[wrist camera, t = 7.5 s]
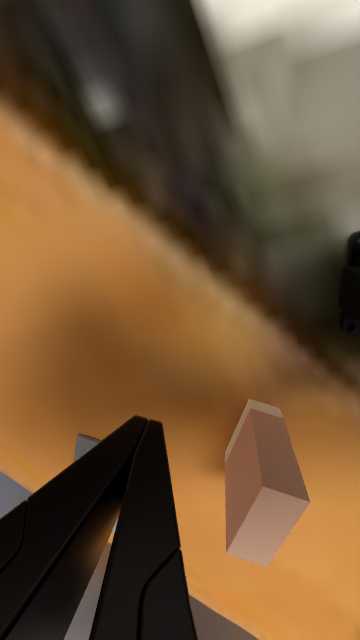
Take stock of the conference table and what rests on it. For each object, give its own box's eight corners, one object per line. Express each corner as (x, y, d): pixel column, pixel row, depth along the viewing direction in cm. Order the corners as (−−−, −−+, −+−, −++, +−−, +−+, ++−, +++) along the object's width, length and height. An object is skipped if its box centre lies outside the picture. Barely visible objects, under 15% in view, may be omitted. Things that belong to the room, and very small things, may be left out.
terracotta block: (279, 408, 20) (310, 502, 13) (252, 461, 22) (266, 567, 15) (248, 398, 20) (262, 486, 13) (224, 452, 23) (226, 552, 16)
